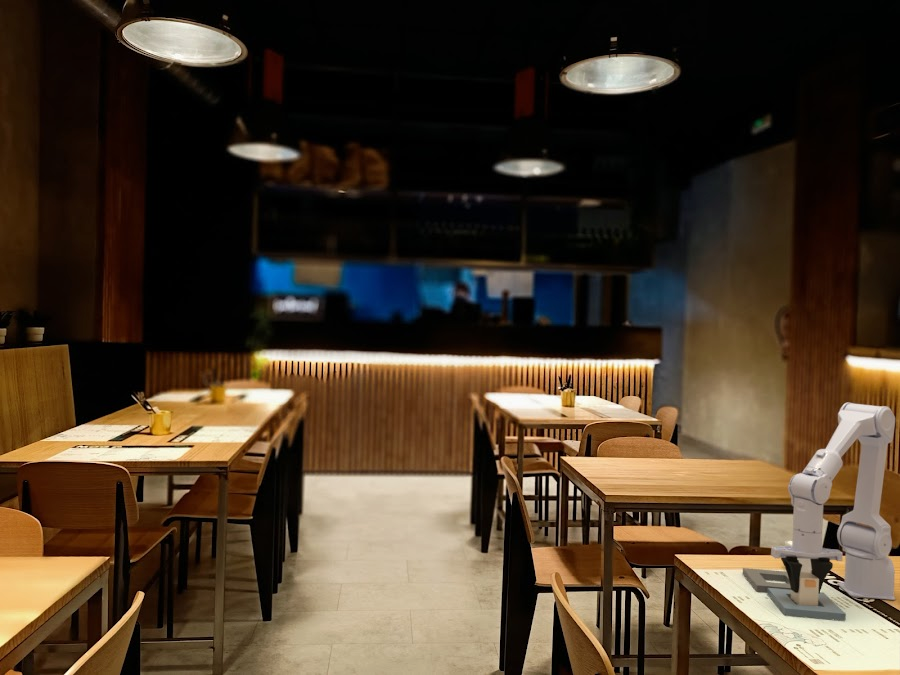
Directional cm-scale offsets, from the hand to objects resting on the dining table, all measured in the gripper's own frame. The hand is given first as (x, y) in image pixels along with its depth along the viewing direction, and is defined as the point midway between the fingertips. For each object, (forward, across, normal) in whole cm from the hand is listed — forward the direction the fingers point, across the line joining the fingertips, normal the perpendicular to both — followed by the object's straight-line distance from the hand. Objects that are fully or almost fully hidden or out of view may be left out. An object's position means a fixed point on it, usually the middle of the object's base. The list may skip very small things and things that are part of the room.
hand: (805, 591), depth 149 cm
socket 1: (+3, 0, -13) cm, 14 cm away
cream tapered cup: (+4, -10, -24) cm, 26 cm away
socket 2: (+3, 0, 0) cm, 3 cm away
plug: (+2, 0, 0) cm, 3 cm away
